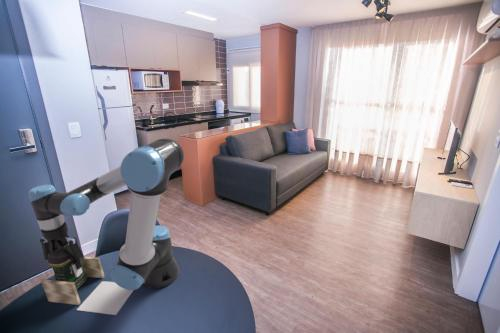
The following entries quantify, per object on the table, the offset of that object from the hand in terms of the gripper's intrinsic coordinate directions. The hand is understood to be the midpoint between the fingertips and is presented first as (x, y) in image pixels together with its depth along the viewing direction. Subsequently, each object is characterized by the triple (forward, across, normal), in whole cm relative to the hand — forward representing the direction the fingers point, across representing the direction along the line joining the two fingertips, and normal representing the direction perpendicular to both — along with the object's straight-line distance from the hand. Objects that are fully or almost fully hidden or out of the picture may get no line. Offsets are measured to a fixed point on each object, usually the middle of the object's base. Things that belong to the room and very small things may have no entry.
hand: (69, 273), depth 99 cm
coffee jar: (+6, 0, 0) cm, 6 cm away
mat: (+8, -17, +2) cm, 19 cm away
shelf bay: (+7, -2, 0) cm, 8 cm away
